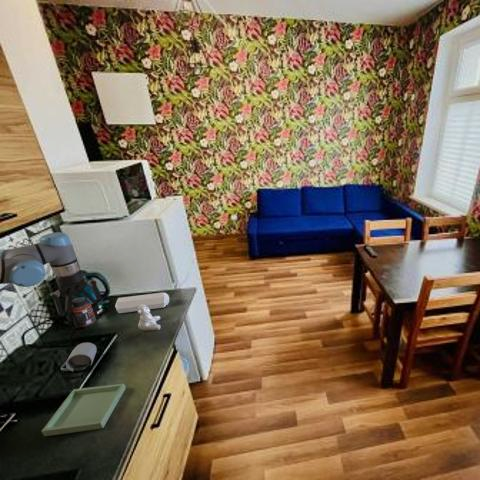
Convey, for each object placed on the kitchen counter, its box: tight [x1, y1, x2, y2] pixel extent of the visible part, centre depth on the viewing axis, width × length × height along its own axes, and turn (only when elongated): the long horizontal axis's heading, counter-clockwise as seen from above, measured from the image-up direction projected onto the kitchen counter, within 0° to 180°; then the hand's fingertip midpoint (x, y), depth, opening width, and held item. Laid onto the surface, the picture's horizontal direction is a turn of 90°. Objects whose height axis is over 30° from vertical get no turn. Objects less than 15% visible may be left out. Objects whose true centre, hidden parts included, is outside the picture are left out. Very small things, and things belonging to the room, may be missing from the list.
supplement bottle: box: [71, 296, 97, 328], centre depth 107 cm, size 6×6×11 cm
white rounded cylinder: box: [114, 292, 170, 314], centre depth 133 cm, size 7×7×24 cm
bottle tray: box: [41, 383, 127, 437], centre depth 85 cm, size 16×14×2 cm
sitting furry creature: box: [136, 304, 162, 332], centre depth 119 cm, size 10×9×12 cm
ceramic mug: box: [60, 341, 98, 372], centre depth 100 cm, size 11×8×8 cm
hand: (87, 322), depth 109 cm, fingers closed on supplement bottle, 6 cm apart
